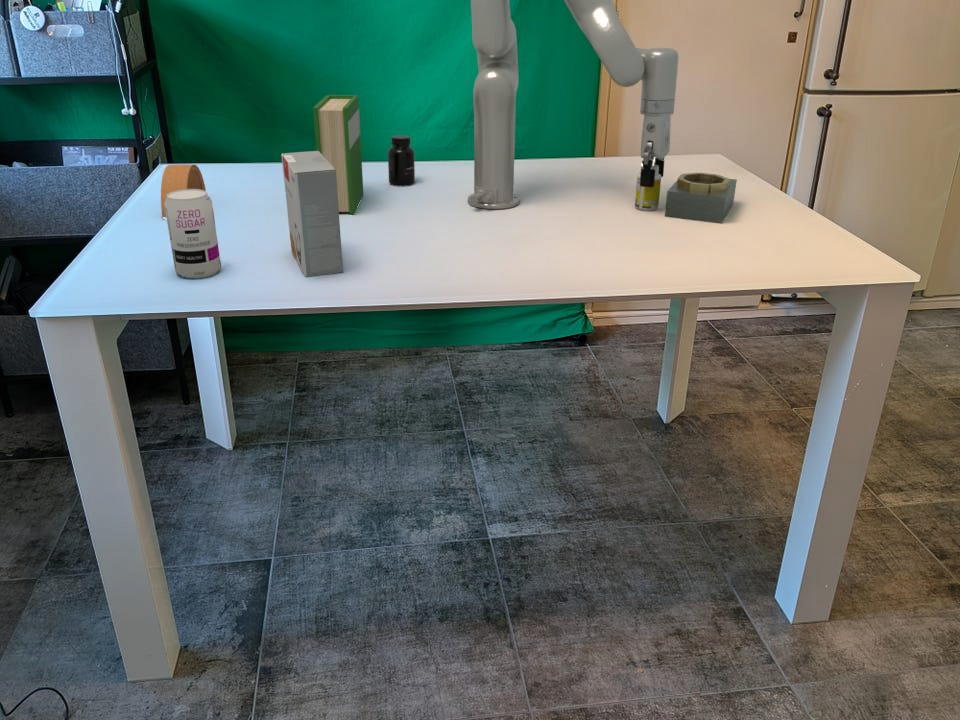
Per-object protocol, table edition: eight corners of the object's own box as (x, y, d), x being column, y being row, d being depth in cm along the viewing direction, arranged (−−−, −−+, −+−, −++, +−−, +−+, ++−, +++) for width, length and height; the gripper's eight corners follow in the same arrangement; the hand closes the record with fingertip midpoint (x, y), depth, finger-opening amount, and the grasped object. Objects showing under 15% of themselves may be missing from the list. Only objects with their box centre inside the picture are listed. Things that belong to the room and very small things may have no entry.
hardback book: (353, 215, 189) (347, 108, 178) (321, 215, 189) (313, 107, 178) (363, 195, 204) (358, 95, 194) (333, 194, 204) (326, 95, 194)
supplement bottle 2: (662, 208, 196) (667, 165, 191) (648, 213, 192) (653, 169, 188) (643, 203, 199) (647, 161, 195) (629, 208, 196) (633, 165, 191)
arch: (207, 196, 202) (201, 156, 198) (188, 220, 185) (181, 176, 180) (183, 196, 202) (177, 156, 198) (162, 220, 184) (154, 176, 180)
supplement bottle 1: (413, 186, 212) (412, 139, 207) (387, 186, 212) (385, 139, 207) (416, 180, 218) (414, 134, 213) (390, 179, 218) (388, 134, 213)
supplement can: (207, 261, 160) (195, 185, 153) (229, 272, 155) (219, 194, 148) (168, 272, 154) (154, 193, 148) (190, 283, 149) (177, 202, 143)
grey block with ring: (721, 223, 185) (726, 191, 182) (664, 216, 190) (668, 184, 186) (735, 199, 203) (740, 169, 200) (683, 193, 208) (686, 164, 205)
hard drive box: (290, 252, 165) (280, 152, 156) (328, 248, 168) (320, 150, 159) (304, 278, 152) (294, 171, 143) (344, 273, 155) (337, 167, 146)
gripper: (665, 113, 177) (659, 192, 184) (681, 101, 191) (675, 174, 199) (631, 112, 180) (626, 189, 187) (649, 100, 194) (644, 172, 201)
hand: (651, 181), depth 193 cm, fingers open, 9 cm apart
